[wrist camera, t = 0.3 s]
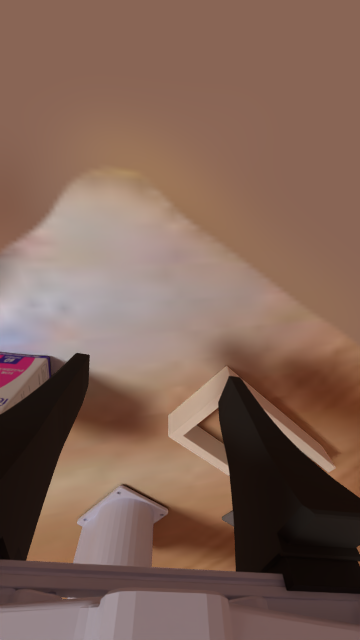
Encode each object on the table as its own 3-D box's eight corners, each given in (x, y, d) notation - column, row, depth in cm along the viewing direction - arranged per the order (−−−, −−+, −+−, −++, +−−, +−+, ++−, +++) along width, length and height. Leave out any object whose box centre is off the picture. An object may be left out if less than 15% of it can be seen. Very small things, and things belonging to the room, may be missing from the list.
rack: (266, 482, 33) (274, 505, 30) (168, 415, 28) (168, 436, 25) (322, 446, 31) (336, 467, 28) (226, 365, 26) (233, 383, 23)
